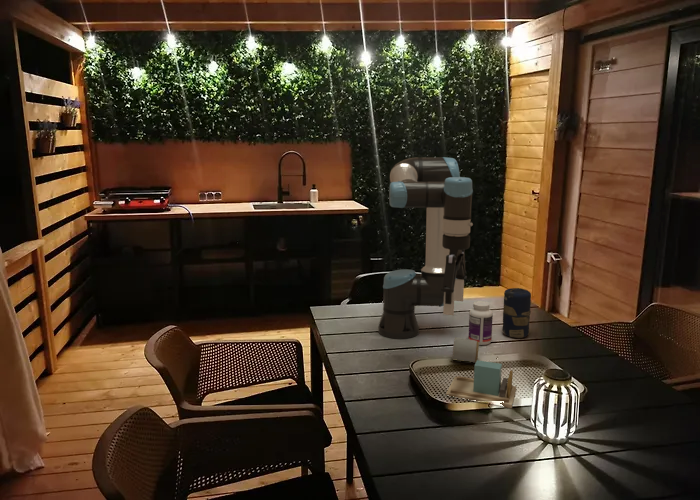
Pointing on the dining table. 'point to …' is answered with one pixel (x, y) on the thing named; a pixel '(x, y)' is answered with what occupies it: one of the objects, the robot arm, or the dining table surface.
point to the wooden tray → (464, 389)
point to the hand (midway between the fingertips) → (453, 307)
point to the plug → (487, 377)
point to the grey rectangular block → (465, 349)
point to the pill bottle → (480, 323)
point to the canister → (516, 312)
